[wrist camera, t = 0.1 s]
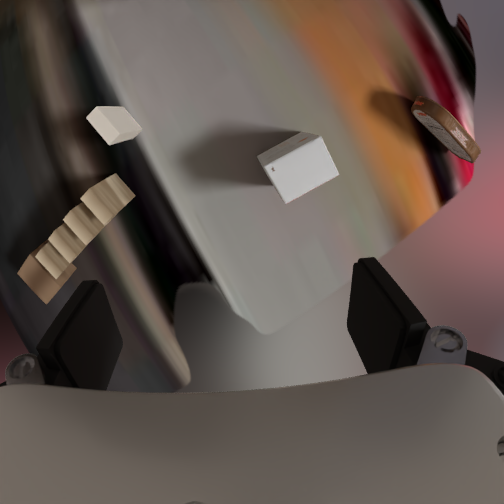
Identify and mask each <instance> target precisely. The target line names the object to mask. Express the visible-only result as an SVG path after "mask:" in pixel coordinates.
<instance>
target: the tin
mask: <svg viewBox="0 0 504 504" xmlns="http://www.w3.org/2000/svg"><path fill="white" fill-rule="evenodd" d="M411 112H412V114H413V115H414V116H415V118H416V119H417V120H418V121H420V122H421V123H422V124H423V125H424V126H425V127H426V128H427V129H428V130H429V131H430V132H431V133H432V134H433V135H434V136H435V137H436V138H437V139H438V140H439V141H440V142H441V143H442V144H443V145H444V146H445V147H446V148H447V149H448V150H450V151H451V152H452V153H453V154H455V155H456V156H458V157H459V158H461V159H464V160H466V161H468V162H470V163H474V162H475V160H476V159H477V157H478V155H479V154H480V153H481V150H480V148H479V146H478V145H477V143H476V142H475V141H474V140H473V138H472V137H471V136H470V135H469V134H468V133H467V131H466V130H465V129H464V128H463V127H462V126H461V124H460V123H459V122H458V121H457V120H456V119H455V118H454V117H453V116H452V114H451V113H450V112H448V111H447V110H446V109H445V108H444V107H442V106H441V105H439V104H438V103H436V102H435V101H433V100H431V99H429V98H426V97H423V96H418V97H417V98H416V100H415V102H414V104H413V105H412V107H411Z"/></svg>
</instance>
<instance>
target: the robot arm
mask: <svg viewBox="0 0 504 504" xmlns="http://www.w3.org/2000/svg"><path fill="white" fill-rule="evenodd" d="M347 328H348V332H349V334H350V335H351V338H352V340H353V342H354V344H355V347H356V349H357V351H358V353H359V355H360V357H361V360H362V362H363V364H364V367H365V369H366V371H367V373H368V374H366V375H360V376H355V377H349V378H344V379H338V380H332V381H325V382H318V383H311V384H304V385H296V386H287V387H279V388H268V389H256V390H243V391H227V392H203V393H144V392H120V391H106V389H107V387H108V384H109V381H110V378H111V376H112V373H113V370H114V367H115V365H116V362H117V360H118V357H119V354H120V352H121V349H122V346H123V341H122V337H121V334H120V332H119V329H118V327H117V324H116V321H115V319H114V316H113V313H112V310H111V307H110V304H109V302H108V299H107V296H106V293H105V290H104V287H103V285H102V284H99V282H98V281H97V280H89V281H83V282H82V283H81V284H80V285H79V286H78V288H77V289H76V290H75V292H74V293H73V295H72V296H71V297H70V299H69V300H68V301H67V303H66V304H65V306H64V307H63V308H62V310H61V311H60V313H59V314H58V315H57V317H56V318H55V320H54V321H53V323H52V324H51V326H50V327H49V329H48V330H47V331H46V333H45V334H44V336H43V338H42V339H41V341H40V342H39V344H38V345H37V347H36V349H37V351H38V353H39V355H38V356H37V357H36V356H35V355H33V354H23V355H20V356H18V357H16V358H14V359H13V360H12V361H11V362H10V363H9V365H8V366H7V369H6V372H5V373H6V374H5V376H6V381H5V382H3V383H1V384H0V504H504V362H503V361H500V360H497V359H494V358H491V357H487V356H485V355H482V354H479V353H476V352H472V351H469V350H467V340H466V338H465V336H464V335H463V334H462V333H461V332H460V331H459V330H457V329H455V328H453V327H450V326H444V325H443V326H435V327H432V328H430V326H429V325H428V324H427V321H426V319H425V318H424V317H423V316H422V314H421V313H420V312H419V310H418V309H417V308H416V307H415V306H414V304H413V303H412V302H411V300H410V299H409V298H408V297H407V295H406V294H405V293H404V292H403V291H402V289H401V288H400V287H399V286H398V284H397V283H396V282H395V281H394V280H393V278H392V277H391V276H390V275H389V274H388V272H387V271H386V270H385V269H384V268H383V267H382V265H381V264H380V263H379V262H378V261H377V260H376V258H374V257H370V258H360V259H359V260H358V263H354V265H353V274H352V284H351V293H350V302H349V310H348V318H347Z"/></svg>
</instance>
